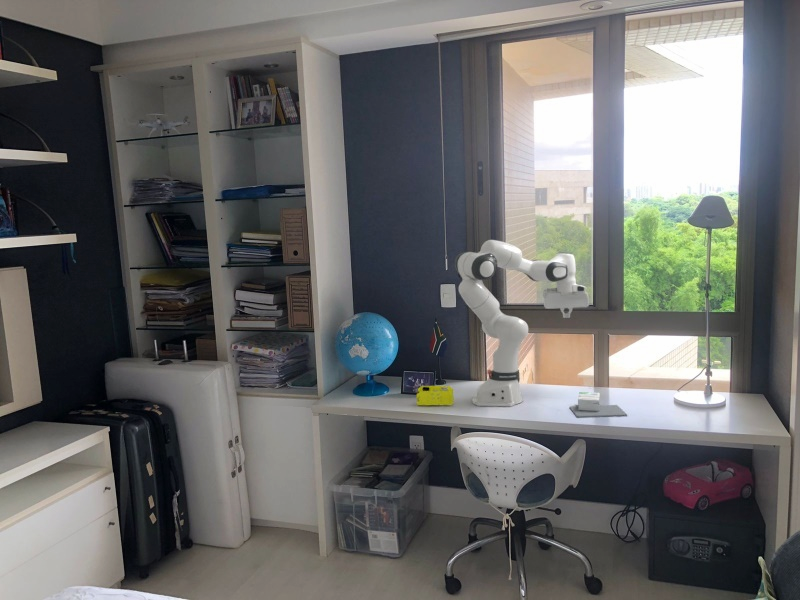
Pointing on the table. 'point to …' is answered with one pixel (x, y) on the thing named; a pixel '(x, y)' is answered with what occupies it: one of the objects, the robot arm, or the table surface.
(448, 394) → the yellow camera
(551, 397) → the table surface
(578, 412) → the mat
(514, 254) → the robot arm
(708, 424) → the table surface
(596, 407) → the ink box
